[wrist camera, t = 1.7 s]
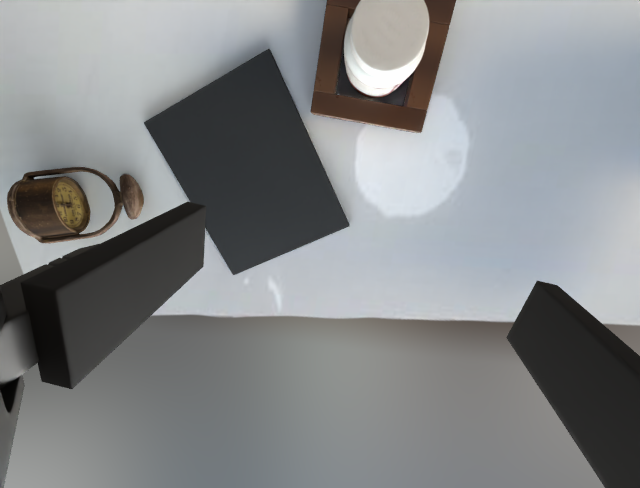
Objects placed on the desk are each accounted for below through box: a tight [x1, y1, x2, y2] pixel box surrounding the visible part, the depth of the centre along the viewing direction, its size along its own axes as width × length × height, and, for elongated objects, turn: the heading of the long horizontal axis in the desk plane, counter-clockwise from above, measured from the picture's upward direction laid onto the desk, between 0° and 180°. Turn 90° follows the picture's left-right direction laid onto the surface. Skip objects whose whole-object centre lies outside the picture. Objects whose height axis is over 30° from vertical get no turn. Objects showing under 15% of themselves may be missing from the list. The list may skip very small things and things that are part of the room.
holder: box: [311, 0, 456, 133], centre depth 30 cm, size 11×11×2 cm
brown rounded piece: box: [7, 167, 144, 243], centre depth 35 cm, size 7×13×10 cm
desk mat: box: [144, 49, 349, 275], centre depth 36 cm, size 20×16×1 cm
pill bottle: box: [344, 0, 429, 98], centre depth 26 cm, size 6×6×11 cm
